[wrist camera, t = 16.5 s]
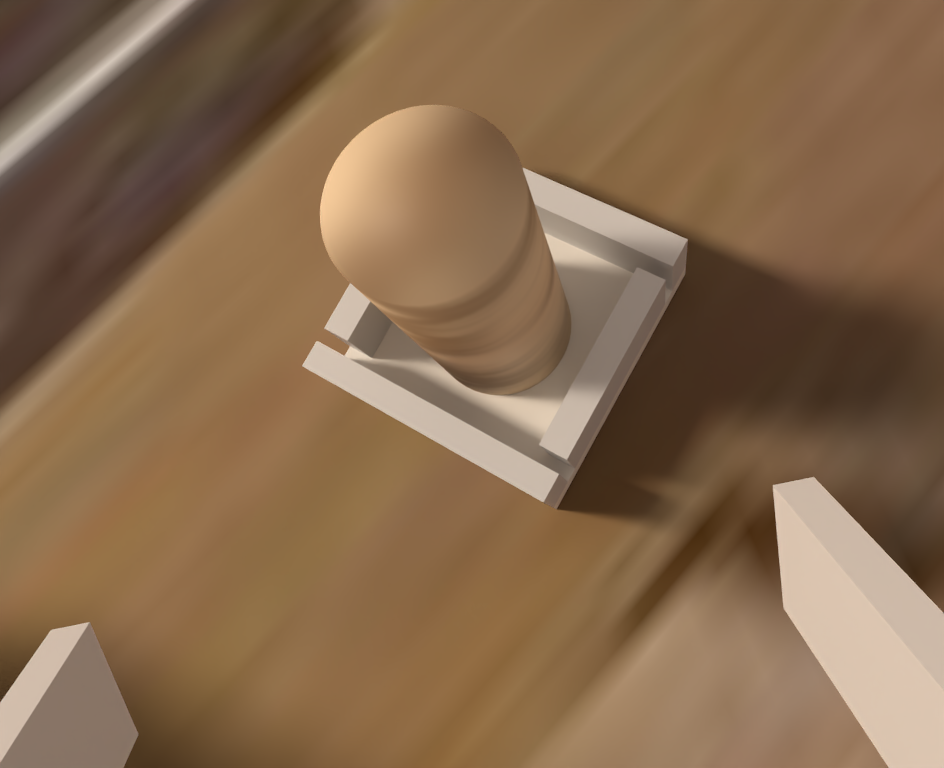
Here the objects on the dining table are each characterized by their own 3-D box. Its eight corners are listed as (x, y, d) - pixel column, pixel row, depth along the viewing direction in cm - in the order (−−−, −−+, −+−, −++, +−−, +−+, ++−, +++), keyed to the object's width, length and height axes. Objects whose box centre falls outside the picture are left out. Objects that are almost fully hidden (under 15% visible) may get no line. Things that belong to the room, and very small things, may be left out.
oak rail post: (409, 355, 37) (282, 249, 24) (476, 238, 37) (387, 75, 25) (527, 420, 35) (456, 341, 22) (597, 296, 35) (565, 153, 23)
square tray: (338, 385, 38) (302, 366, 34) (460, 173, 39) (438, 131, 35) (556, 509, 35) (543, 502, 31) (685, 274, 36) (687, 239, 32)
